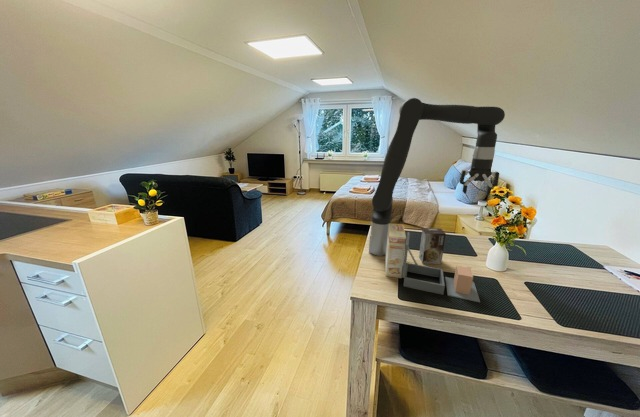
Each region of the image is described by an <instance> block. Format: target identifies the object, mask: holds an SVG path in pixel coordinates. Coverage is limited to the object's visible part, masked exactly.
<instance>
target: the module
mask: <svg viewBox="0 0 640 417" xmlns="http://www.w3.org/2000/svg"><path fill="white" fill-rule="evenodd" d="M471 268H472V267H469V266H468V267H467V266H462V265H456V266H455V271H454V272H455V273H454V277H453V278H454V281H453V283H454V288H455V292H458V293H463V294H468V295H470V290H471V286H472V282H474V281H473V280H474V274H473V272H472V269H471Z"/></svg>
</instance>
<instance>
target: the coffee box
mask: <svg viewBox="0 0 640 417" xmlns="http://www.w3.org/2000/svg"><path fill="white" fill-rule="evenodd" d="M421 230H422V231H421V235H420V236H421V238H420V243H419V244H420V245H419V255H418V258H419V261H420V262H421V264H427V265H428V264H435V265H441V264H442V261H443V255H444V249H445V241H446V236H447V234H446V232H445V231H444V230H443V229H442V228H435V227H434V228H432V227H431V228H428V227H425V228H423V227H422V229H421Z"/></svg>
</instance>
